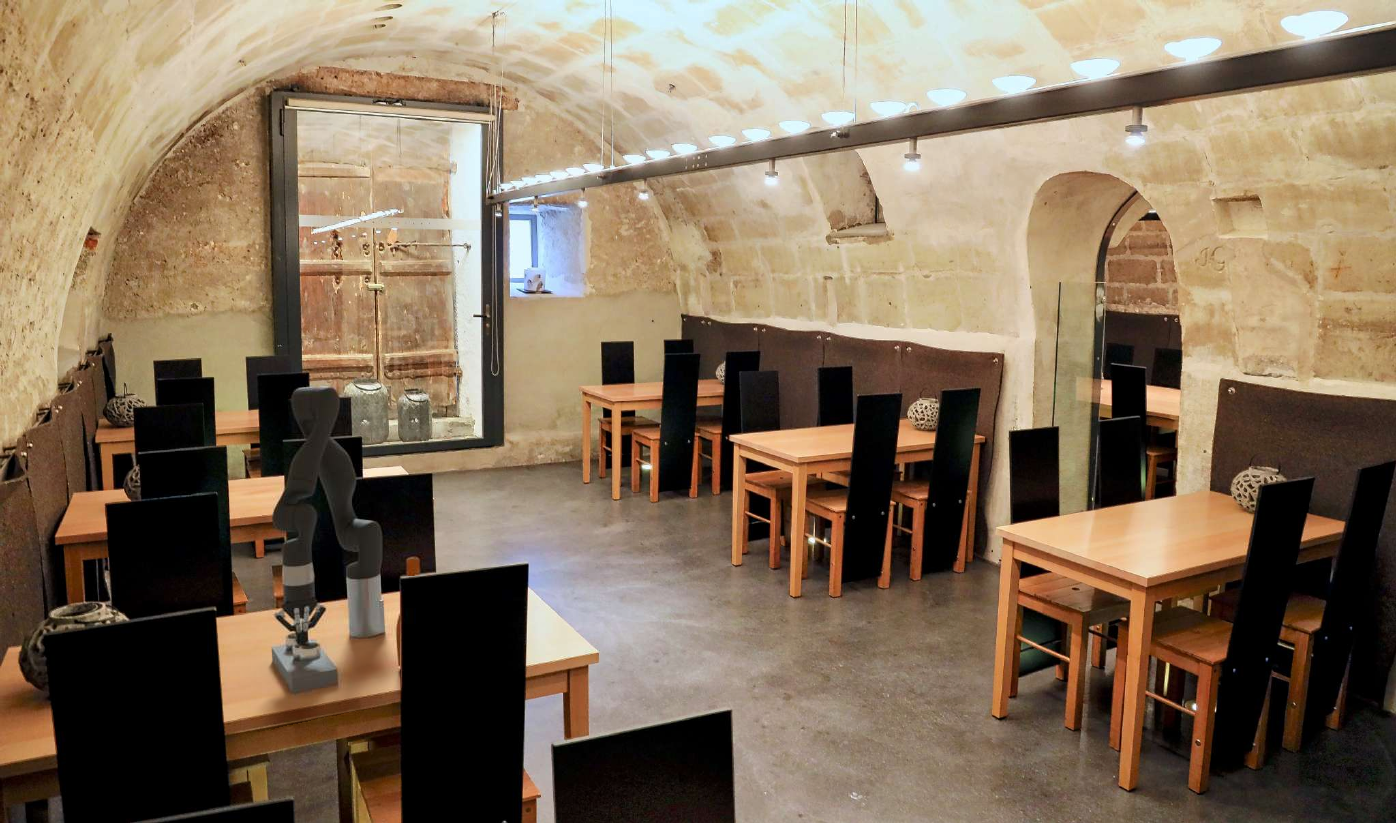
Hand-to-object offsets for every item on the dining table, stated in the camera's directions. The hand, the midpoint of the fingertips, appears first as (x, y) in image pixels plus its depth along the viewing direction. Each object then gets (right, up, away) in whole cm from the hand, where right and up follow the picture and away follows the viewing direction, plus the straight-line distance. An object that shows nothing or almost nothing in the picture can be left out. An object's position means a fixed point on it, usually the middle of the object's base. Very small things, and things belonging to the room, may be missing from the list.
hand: (302, 644), depth 266 cm
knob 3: (+5, -2, -7) cm, 9 cm away
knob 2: (0, -3, +1) cm, 3 cm away
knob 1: (-5, -2, +8) cm, 9 cm away
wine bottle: (+29, -7, +4) cm, 30 cm away
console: (0, -7, +1) cm, 8 cm away
